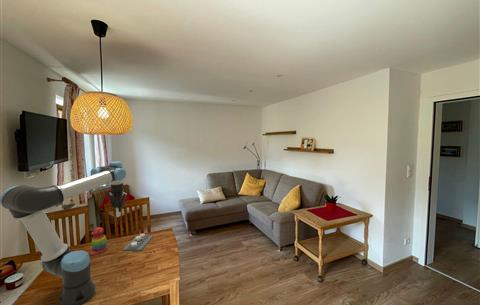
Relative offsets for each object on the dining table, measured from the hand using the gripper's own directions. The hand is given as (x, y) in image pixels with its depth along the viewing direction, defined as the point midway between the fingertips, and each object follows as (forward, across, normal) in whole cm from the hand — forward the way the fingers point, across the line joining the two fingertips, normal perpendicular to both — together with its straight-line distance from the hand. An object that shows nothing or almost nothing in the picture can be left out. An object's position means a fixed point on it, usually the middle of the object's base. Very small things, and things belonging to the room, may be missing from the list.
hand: (118, 216), depth 146 cm
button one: (+28, -5, -10) cm, 30 cm away
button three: (+28, -5, -22) cm, 36 cm away
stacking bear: (+30, +20, -6) cm, 36 cm away
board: (+29, -5, -16) cm, 34 cm away
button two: (+27, -5, -16) cm, 31 cm away
